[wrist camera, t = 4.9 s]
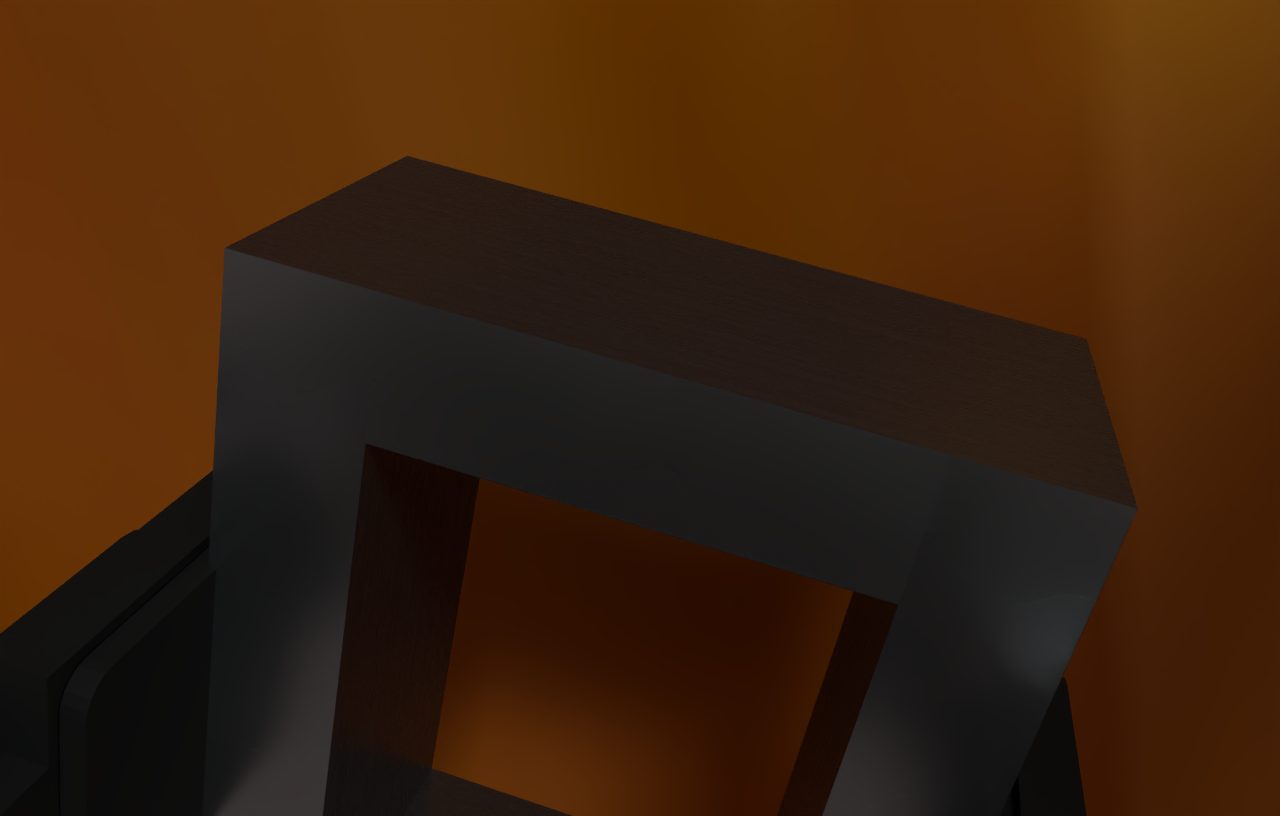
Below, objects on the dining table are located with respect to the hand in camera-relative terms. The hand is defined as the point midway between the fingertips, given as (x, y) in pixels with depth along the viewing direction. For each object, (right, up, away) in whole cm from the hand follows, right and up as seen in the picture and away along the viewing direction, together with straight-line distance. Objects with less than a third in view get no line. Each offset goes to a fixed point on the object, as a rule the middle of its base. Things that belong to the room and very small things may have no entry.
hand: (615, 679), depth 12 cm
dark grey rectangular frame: (0, 0, +1) cm, 1 cm away
